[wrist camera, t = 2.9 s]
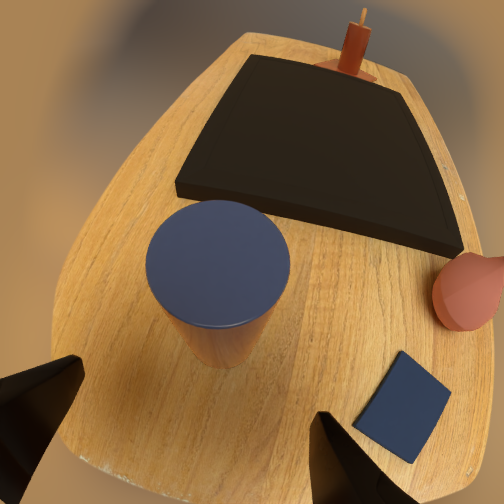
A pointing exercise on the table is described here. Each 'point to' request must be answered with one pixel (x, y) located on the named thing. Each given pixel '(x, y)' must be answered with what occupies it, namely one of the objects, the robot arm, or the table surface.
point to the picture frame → (322, 156)
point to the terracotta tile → (333, 66)
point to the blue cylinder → (218, 277)
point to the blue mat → (404, 409)
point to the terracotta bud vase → (468, 291)
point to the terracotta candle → (354, 46)
